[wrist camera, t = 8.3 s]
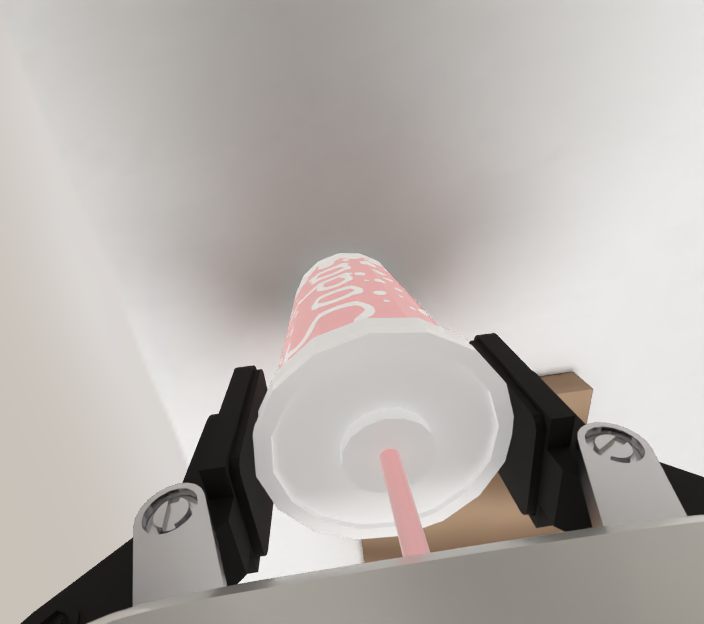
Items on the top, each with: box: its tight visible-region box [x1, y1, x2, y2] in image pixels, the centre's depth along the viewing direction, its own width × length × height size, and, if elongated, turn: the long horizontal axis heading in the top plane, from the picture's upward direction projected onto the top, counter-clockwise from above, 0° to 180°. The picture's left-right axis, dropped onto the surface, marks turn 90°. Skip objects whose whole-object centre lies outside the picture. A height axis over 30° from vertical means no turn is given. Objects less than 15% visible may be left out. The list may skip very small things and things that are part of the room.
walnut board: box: [362, 372, 593, 563], centre depth 23 cm, size 20×12×2 cm, turn 6°
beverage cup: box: [253, 253, 514, 557], centre depth 11 cm, size 6×6×14 cm
